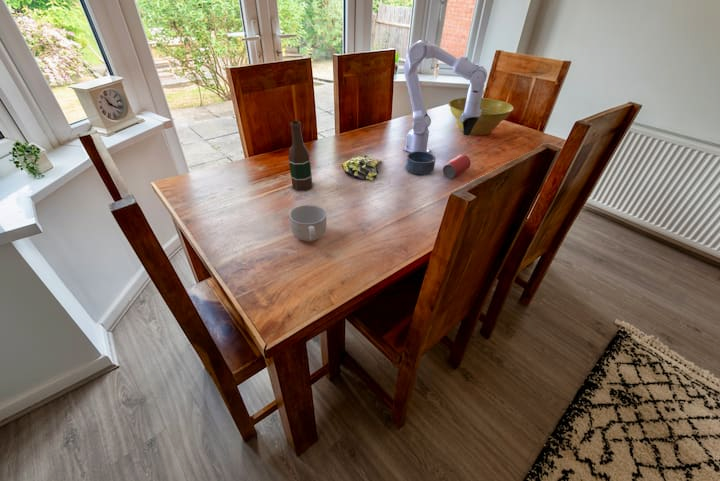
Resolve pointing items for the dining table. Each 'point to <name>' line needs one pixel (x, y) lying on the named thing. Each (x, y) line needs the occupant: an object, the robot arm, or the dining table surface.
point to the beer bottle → (299, 160)
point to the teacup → (308, 222)
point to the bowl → (420, 162)
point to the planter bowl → (483, 114)
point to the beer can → (456, 166)
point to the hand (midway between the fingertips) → (466, 134)
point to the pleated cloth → (362, 167)
